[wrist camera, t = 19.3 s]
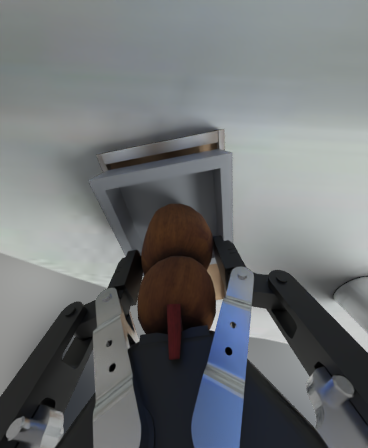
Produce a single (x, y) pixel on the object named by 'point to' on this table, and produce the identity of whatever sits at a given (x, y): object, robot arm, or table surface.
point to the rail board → (165, 152)
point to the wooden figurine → (176, 275)
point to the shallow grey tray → (167, 194)
